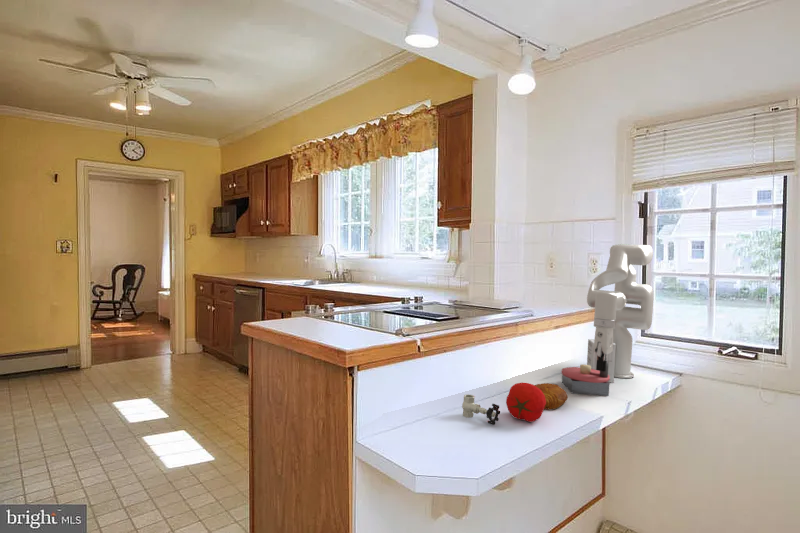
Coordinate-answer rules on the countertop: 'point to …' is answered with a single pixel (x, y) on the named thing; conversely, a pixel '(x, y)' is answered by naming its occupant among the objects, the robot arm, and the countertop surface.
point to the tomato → (525, 401)
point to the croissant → (553, 395)
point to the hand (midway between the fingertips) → (601, 370)
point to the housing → (585, 387)
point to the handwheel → (586, 374)
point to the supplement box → (610, 358)
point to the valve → (479, 409)
